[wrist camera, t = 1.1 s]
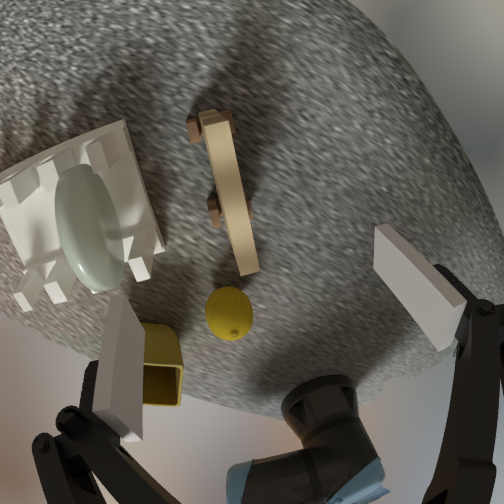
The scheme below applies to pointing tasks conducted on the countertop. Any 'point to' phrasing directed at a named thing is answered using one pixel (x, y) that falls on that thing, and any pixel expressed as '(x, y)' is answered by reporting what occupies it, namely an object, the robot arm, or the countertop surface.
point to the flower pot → (162, 366)
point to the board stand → (195, 135)
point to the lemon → (229, 313)
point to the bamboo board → (229, 189)
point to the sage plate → (89, 228)
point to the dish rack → (43, 210)
